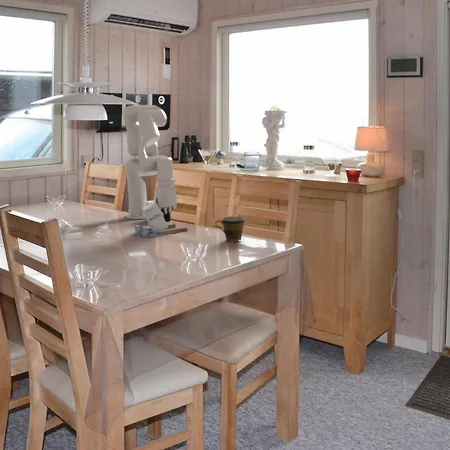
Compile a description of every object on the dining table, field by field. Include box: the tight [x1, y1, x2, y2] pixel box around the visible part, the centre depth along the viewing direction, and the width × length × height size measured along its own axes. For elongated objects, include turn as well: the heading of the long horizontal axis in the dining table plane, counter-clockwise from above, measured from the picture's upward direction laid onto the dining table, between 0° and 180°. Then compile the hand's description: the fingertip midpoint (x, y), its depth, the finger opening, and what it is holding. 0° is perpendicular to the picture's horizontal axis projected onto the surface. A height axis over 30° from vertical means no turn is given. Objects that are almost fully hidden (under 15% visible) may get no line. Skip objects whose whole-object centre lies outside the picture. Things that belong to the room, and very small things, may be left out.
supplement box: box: [142, 202, 169, 233], centre depth 292 cm, size 7×7×13 cm
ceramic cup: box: [215, 216, 245, 242], centre depth 274 cm, size 13×10×10 cm
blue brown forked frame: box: [134, 223, 189, 238], centre depth 295 cm, size 12×22×4 cm, turn 126°
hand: (167, 221), depth 295 cm, fingers closed
